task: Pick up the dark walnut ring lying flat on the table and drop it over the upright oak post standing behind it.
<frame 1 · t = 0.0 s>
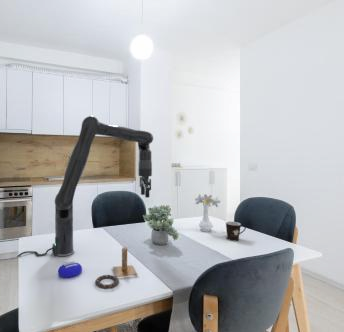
hand: (145, 196, 139), 29 cm above the table, tool pointing down, fingers open, 8 cm apart
coffee mug: (235, 239, 152), on the table
post: (124, 273, 109), on the table
flower vase: (205, 230, 171), on the table
decorative object: (69, 275, 107), on the table
ring: (107, 282, 99), point 1 cm above the table
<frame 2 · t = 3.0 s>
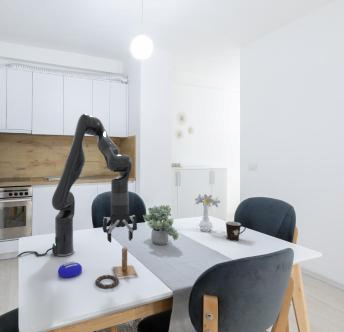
hand: (120, 240, 102), 17 cm above the table, tool pointing down, fingers open, 8 cm apart
nothing on the table moved.
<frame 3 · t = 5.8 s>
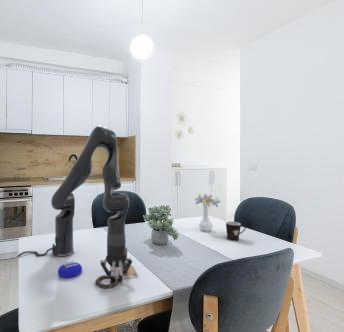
hand: (116, 283, 100), 0 cm above the table, tool pointing down, fingers closed on ring, 2 cm apart
ring: (107, 282, 99), point 1 cm above the table, touching gripper
everything else where it was.
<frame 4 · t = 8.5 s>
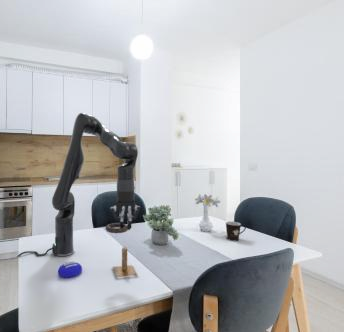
hand: (125, 229, 104), 21 cm above the table, tool pointing down, fingers closed on ring
ring: (117, 227, 104), point 22 cm above the table, touching gripper
everything else where it was.
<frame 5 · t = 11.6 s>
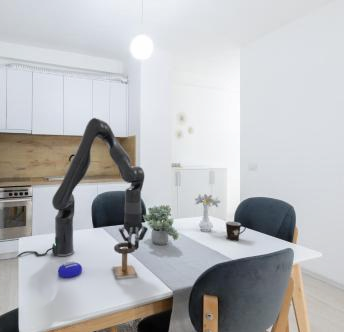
hand: (132, 249, 109), 11 cm above the table, tool pointing down, fingers closed on ring
ring: (124, 247, 109), point 11 cm above the table, touching gripper
everything else where it was.
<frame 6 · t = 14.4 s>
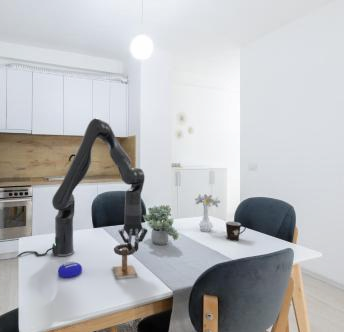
hand: (132, 250, 109), 10 cm above the table, tool pointing down, fingers closed on ring
ring: (124, 249, 109), point 11 cm above the table, touching gripper
everything else where it was.
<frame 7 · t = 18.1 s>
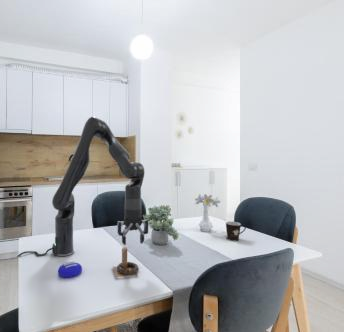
hand: (132, 243, 109), 13 cm above the table, tool pointing down, fingers open, 7 cm apart
ring: (127, 268, 109), point 2 cm above the table, touching post
everything else where it was.
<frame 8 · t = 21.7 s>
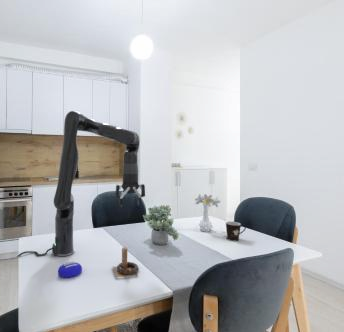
hand: (130, 205, 118), 28 cm above the table, tool pointing down, fingers open, 8 cm apart
nothing on the table moved.
at the end: ring 1.4 cm from the post (horizontally); ring point 2.2 cm above the table; the gripper is holding nothing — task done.
